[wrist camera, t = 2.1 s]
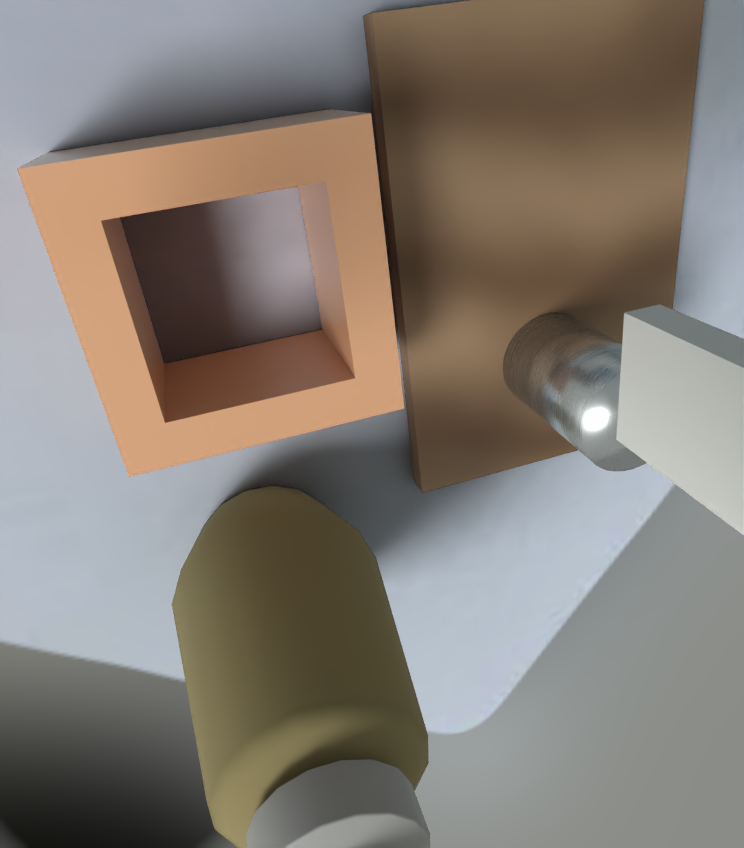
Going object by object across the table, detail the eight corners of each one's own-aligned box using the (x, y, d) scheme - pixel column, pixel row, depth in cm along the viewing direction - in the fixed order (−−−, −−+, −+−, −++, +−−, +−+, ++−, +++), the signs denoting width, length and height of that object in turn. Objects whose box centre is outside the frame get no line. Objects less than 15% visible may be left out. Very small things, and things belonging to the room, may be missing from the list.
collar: (47, 152, 20) (16, 168, 16) (330, 109, 22) (370, 113, 17) (134, 409, 24) (129, 477, 20) (364, 356, 26) (404, 408, 22)
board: (363, 16, 21) (371, 12, 20) (687, -26, 23) (707, -30, 22) (414, 481, 29) (422, 492, 29) (646, 418, 32) (660, 427, 31)
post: (501, 323, 26) (585, 380, 21) (590, 303, 27) (692, 353, 22) (503, 411, 28) (581, 483, 23) (587, 390, 29) (679, 455, 24)
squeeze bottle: (366, 458, 28) (612, 897, 13) (344, 604, 32) (519, 1092, 16) (171, 461, 26) (185, 1012, 10) (170, 620, 29) (180, 1214, 14)
